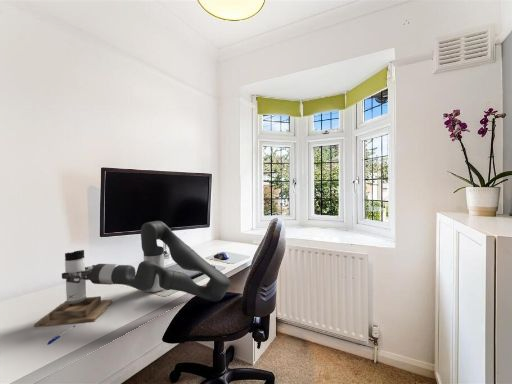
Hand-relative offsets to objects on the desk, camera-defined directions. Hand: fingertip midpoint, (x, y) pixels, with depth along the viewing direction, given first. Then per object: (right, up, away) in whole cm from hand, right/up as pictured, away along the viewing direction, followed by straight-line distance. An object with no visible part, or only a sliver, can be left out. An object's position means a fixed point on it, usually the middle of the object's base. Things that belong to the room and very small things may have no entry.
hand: (70, 272), depth 98 cm
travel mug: (+3, -11, 0) cm, 11 cm away
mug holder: (+2, -16, 0) cm, 16 cm away
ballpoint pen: (+8, -17, -14) cm, 24 cm away
